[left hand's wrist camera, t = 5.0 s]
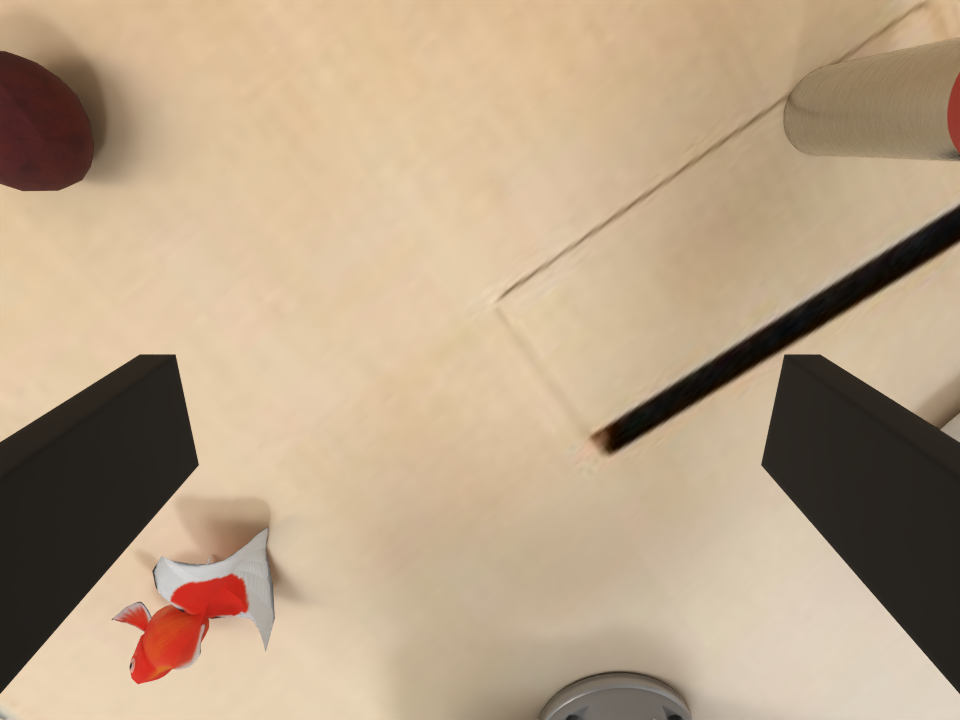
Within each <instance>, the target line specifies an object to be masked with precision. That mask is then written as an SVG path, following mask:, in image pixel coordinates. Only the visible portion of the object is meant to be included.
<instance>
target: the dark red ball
mask: <svg viewBox="0 0 960 720" xmlns="http://www.w3.org/2000/svg"><path fill="white" fill-rule="evenodd" d="M93 150H94V144H93V139H92V134H91V128H90V123H89V119H88V117H87V115H86V113H85V111H84V109H83V107H82V105H81V103H80V101H79V99H78V97H77V95H76V94H75V93H74V92H73V91H72V90H71V89H70V88H69V87H68V86H67V85H66V84H65V83H64V82H63V81H62V80H61V79H60V78H58V77H57V76H55V75H54V74H53V73H51V72H50V71H48V70H47V69H45V68H44V67H42V66H41V65H39V64H38V63H36V62H33V61H31V60H28V59H26V58H23V57H20V56H18V55H15V54H12V53H9V52H6V51H0V184H3V185H6V186H9V187H12V188H15V189H18V190H21V191H58V190H61V189H64V188H66V187H68V186H70V185H73V184H75V183H77V182H79V181H81V180H82V179H83V178H84V176H85V175H86V173H87V172H88V170H89V168H90V167H91V163H92V157H93Z"/></svg>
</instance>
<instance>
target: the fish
mask: <svg viewBox="0 0 960 720" xmlns="http://www.w3.org/2000/svg"><path fill="white" fill-rule="evenodd" d="M268 529H269V528H268V527H267V528H266V529H264V530H262V531H261V532H260V533H259V534H257V535H256V536H255V537H254V538H253V539H252V540H251V541H250V542H249V543H248V544H247V545H245V546H244V547H243V548H241V549H240V550H238V551H237V552H236V553H234V554H233V555H231V556H230V557H228V558H227V559H225V560H224V561H220V562H215V563H211V564H209V561H210V557H209V559H208V561H207V564H187V563H181V562H175V561H171V560H169V559H167V558H165V557H163V556H161V558H160V560H159V561H158V563H157V565H156V566H155V568H154V570H153V576H154V581H155V585H156V589H157V590H158V591H159V593H160V594H161V595H162V597H164V598H165V599H166V600H167V601H168V602H169V603H171V604H172V605H168V606H166V607H163V608H162V609H160V610H159V611H157V612H156V613H155V614H154V615H153V617H151V615H150V613H149V611H148V609H147V608H146V607H145V605H144V604H143V603H142V602H137V603H134V604H132V605H130V606H128V607H126V608H125V609H124V610H122V611H121V612H120V613H119V614H118V615H117V616H115V617H114V618H113V619H114V620H117V621H120V622H125V623H128V624H130V625H133V626H136V627H137V628H139V629H141V630H142V631H144V632H145V633H144V634H143V635H142V636H141V638H140V640H139V643H138V645H137V648H136V650H135V652H134V655H133V657H132V659H131V663H130V672H131V677H132V679H133V680H134V681H135V682H136V683H137V684H141V683H144V682H149V681H153V680H157V679H159V678H161V677H163V676H165V675H166V674H167V673H168V672H170V671H171V670H172V669H176V670H180V669H184V668H188V667H190V666H191V665H192V664H193V663H195V661H196V660H197V658H198V657H199V655H200V653H201V649H200V645H201V642H202V640H203V639H204V637H205V635H206V633H207V631H208V629H209V619H208V618H212V619H214V618H222V617H230V616H236V617H241V618H249V619H252V620H253V621H254V623H255V624H256V626H257V627H258V629H259V631H260V634H261V636H262V639H263V643H264V647H265V652H266V648H267V645H268V641H269V637H270V634H271V630H272V626H273V623H274V619H275V616H274V597H273V584H272V579H271V573H270V568H269V563H268V557H267V551H266V545H267V538H268ZM113 619H112V620H113Z"/></svg>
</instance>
